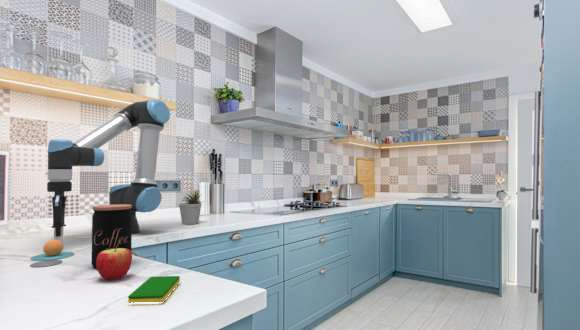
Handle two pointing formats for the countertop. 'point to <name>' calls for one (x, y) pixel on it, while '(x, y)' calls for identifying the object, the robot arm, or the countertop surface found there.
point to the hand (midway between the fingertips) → (58, 244)
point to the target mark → (45, 257)
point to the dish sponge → (154, 289)
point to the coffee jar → (111, 228)
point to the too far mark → (46, 263)
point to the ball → (53, 247)
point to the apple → (114, 262)
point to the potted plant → (190, 210)
